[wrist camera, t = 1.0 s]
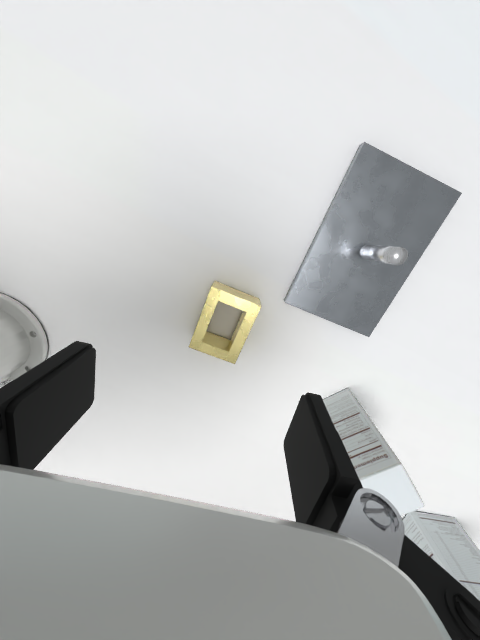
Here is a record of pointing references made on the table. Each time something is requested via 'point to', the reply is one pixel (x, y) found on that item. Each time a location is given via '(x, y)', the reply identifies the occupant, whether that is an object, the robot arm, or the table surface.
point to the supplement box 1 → (371, 453)
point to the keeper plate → (370, 240)
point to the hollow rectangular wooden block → (233, 347)
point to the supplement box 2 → (446, 546)
